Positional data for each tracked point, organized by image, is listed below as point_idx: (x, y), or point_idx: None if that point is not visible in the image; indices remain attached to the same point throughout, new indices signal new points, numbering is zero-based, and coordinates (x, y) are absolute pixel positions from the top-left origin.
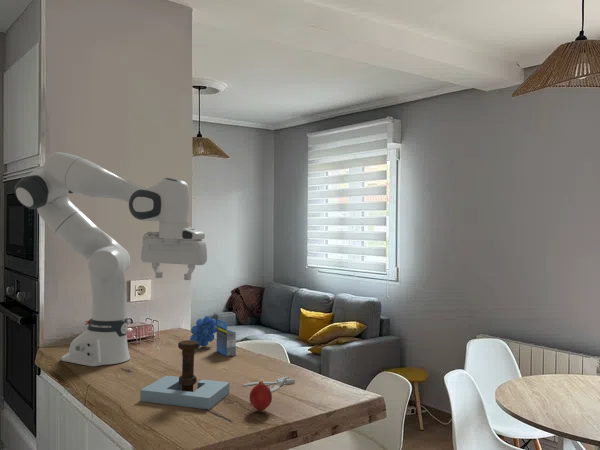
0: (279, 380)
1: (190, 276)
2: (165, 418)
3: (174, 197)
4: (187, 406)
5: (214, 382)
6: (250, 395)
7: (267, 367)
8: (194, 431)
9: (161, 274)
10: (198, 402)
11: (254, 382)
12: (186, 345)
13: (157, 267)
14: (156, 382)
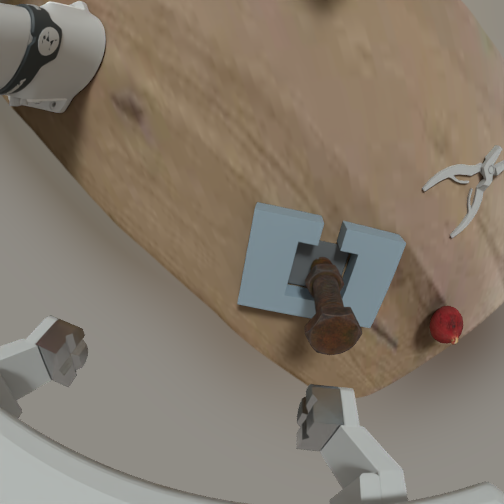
0: (487, 177)
1: (350, 413)
2: (305, 350)
3: None
4: None
5: (375, 246)
6: (433, 334)
7: (454, 48)
8: (349, 376)
9: (69, 353)
10: None
11: (444, 171)
12: (331, 352)
13: (5, 369)
14: (251, 260)
